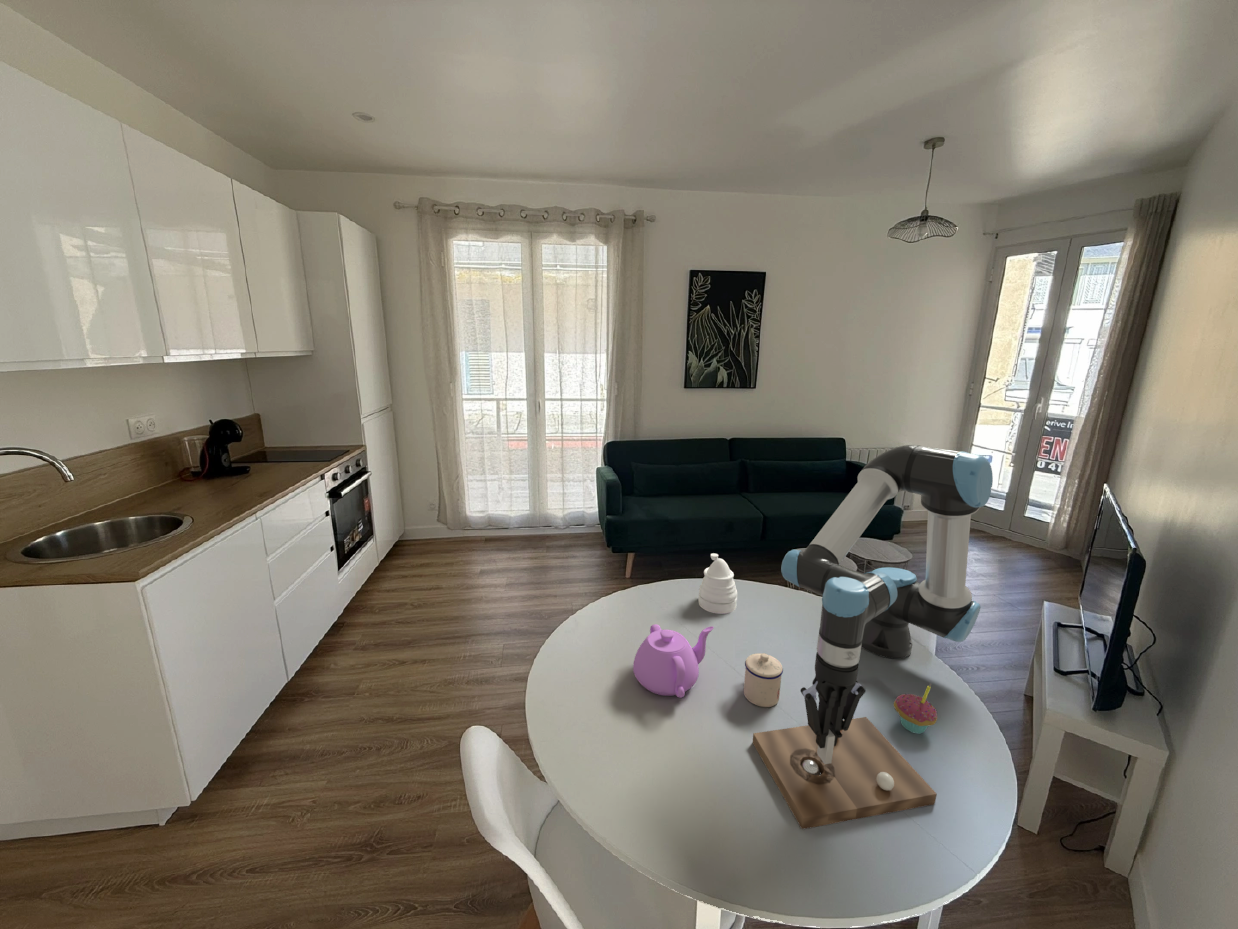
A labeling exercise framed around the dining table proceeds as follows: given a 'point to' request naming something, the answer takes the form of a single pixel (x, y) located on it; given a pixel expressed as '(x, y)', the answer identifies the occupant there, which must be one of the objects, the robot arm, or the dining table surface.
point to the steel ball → (810, 767)
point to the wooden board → (841, 775)
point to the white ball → (885, 781)
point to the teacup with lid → (762, 679)
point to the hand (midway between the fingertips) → (824, 758)
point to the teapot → (669, 661)
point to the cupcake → (915, 711)
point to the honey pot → (718, 588)
